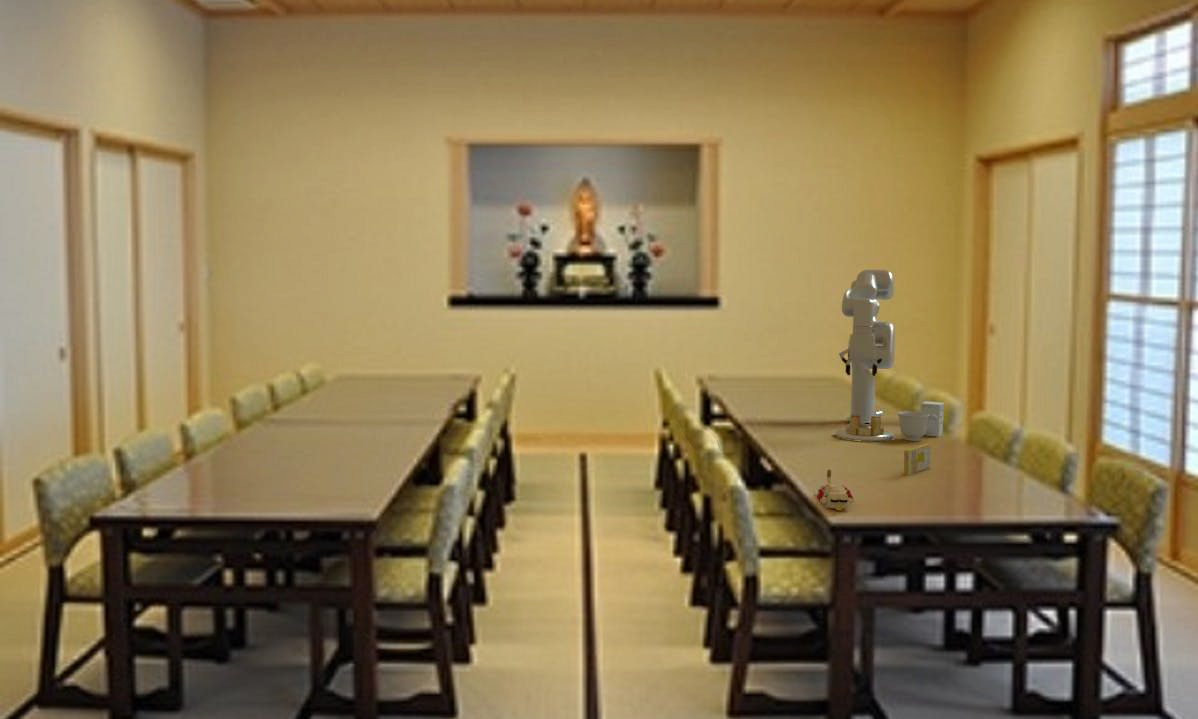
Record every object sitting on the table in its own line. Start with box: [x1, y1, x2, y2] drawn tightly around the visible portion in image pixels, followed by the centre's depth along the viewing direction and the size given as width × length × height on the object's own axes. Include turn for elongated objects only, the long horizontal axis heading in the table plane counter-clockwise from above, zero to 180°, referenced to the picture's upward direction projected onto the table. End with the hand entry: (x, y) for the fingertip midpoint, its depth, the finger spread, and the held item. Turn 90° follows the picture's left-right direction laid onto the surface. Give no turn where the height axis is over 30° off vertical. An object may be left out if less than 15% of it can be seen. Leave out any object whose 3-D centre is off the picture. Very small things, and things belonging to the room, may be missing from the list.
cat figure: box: [816, 469, 855, 511], centre depth 356 cm, size 10×9×25 cm
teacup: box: [897, 410, 938, 442], centre depth 469 cm, size 12×15×10 cm
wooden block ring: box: [845, 414, 885, 436], centre depth 474 cm, size 14×14×6 cm
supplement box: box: [920, 400, 945, 438], centre depth 482 cm, size 7×7×13 cm
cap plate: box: [835, 425, 896, 442], centre depth 475 cm, size 22×22×4 cm
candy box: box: [903, 443, 931, 476], centre depth 406 cm, size 16×2×8 cm, turn 141°
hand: (861, 375), depth 480 cm, fingers open, 9 cm apart
